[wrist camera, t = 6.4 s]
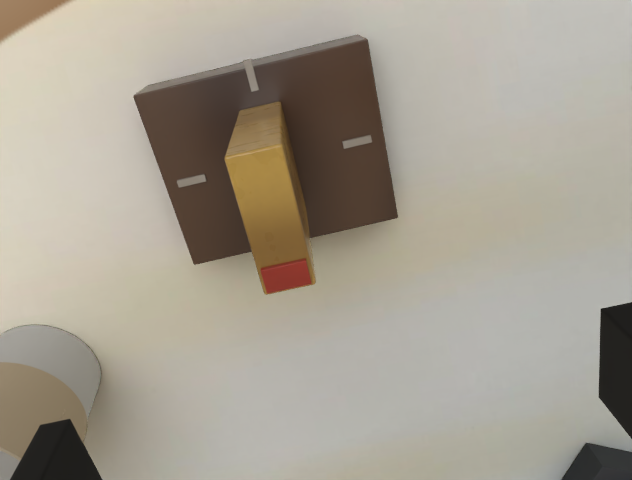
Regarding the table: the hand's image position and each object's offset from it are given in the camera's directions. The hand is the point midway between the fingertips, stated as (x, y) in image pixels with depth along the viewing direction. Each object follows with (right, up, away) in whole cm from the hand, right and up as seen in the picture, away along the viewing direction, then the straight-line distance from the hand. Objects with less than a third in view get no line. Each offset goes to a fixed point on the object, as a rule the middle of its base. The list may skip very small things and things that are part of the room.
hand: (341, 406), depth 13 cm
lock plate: (-3, +9, +16) cm, 18 cm away
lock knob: (-3, +8, +13) cm, 15 cm away
